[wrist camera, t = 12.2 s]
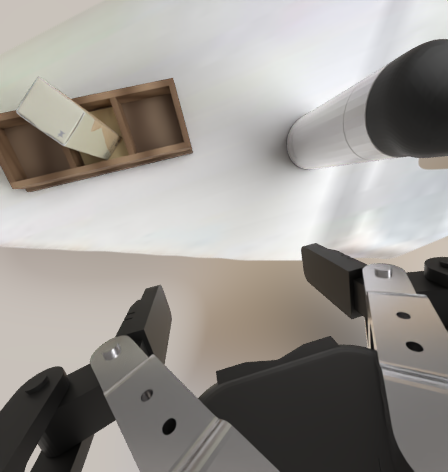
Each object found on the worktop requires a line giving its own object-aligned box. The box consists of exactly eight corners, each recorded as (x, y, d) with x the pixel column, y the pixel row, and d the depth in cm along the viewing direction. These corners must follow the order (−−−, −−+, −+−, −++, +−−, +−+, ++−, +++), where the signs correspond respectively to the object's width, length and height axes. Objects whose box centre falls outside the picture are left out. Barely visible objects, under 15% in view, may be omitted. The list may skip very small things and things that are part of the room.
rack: (174, 85, 32) (172, 74, 29) (192, 152, 35) (193, 149, 31) (-3, 122, 30) (-27, 114, 26) (31, 191, 32) (13, 192, 29)
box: (123, 138, 31) (88, 114, 21) (107, 161, 32) (65, 149, 21) (90, 113, 30) (36, 73, 19) (74, 137, 30) (12, 111, 20)
